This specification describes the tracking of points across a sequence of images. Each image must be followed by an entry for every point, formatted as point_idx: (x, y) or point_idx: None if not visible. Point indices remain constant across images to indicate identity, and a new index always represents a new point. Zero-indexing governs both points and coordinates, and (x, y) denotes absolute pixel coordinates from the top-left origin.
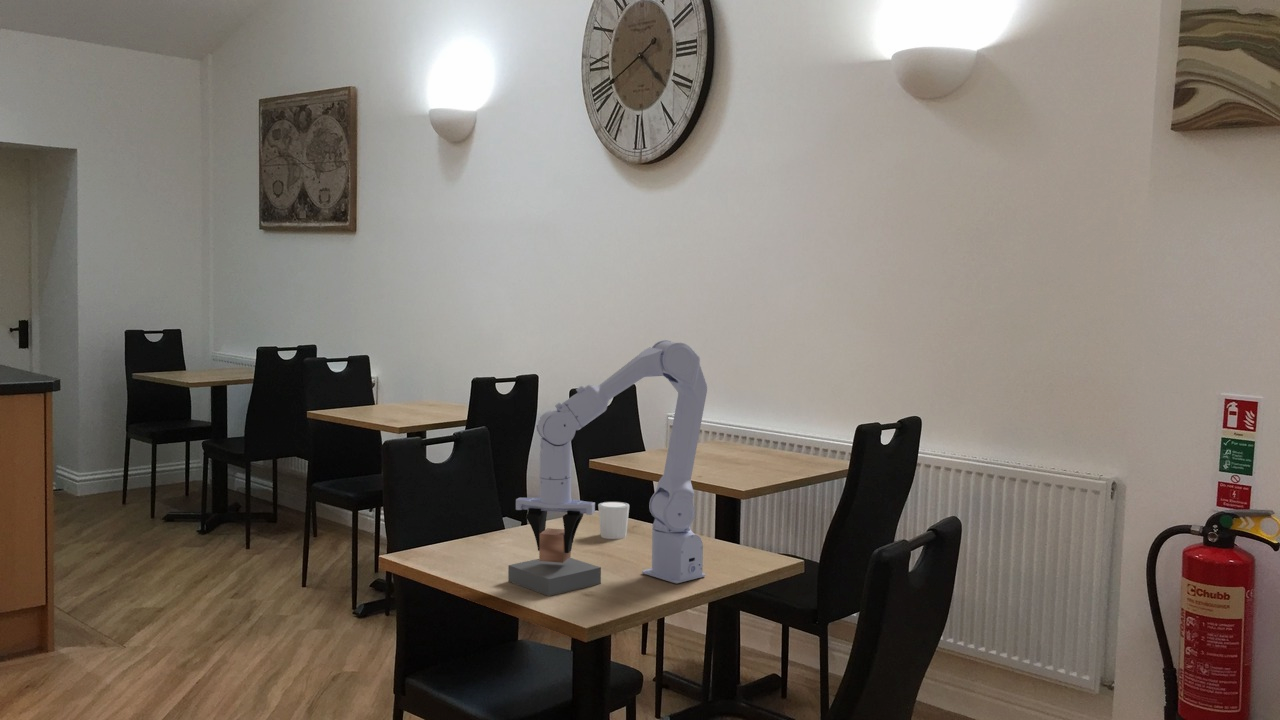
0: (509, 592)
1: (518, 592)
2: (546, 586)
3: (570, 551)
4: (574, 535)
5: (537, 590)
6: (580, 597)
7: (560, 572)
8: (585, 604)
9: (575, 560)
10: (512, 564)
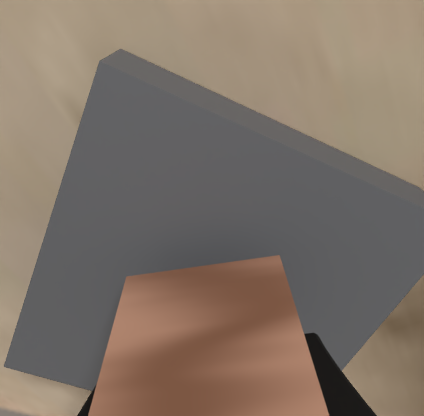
0: None
1: None
2: None
3: (286, 278)
4: (373, 413)
5: None
6: (380, 356)
7: None
8: (415, 399)
9: (271, 157)
10: (11, 353)
